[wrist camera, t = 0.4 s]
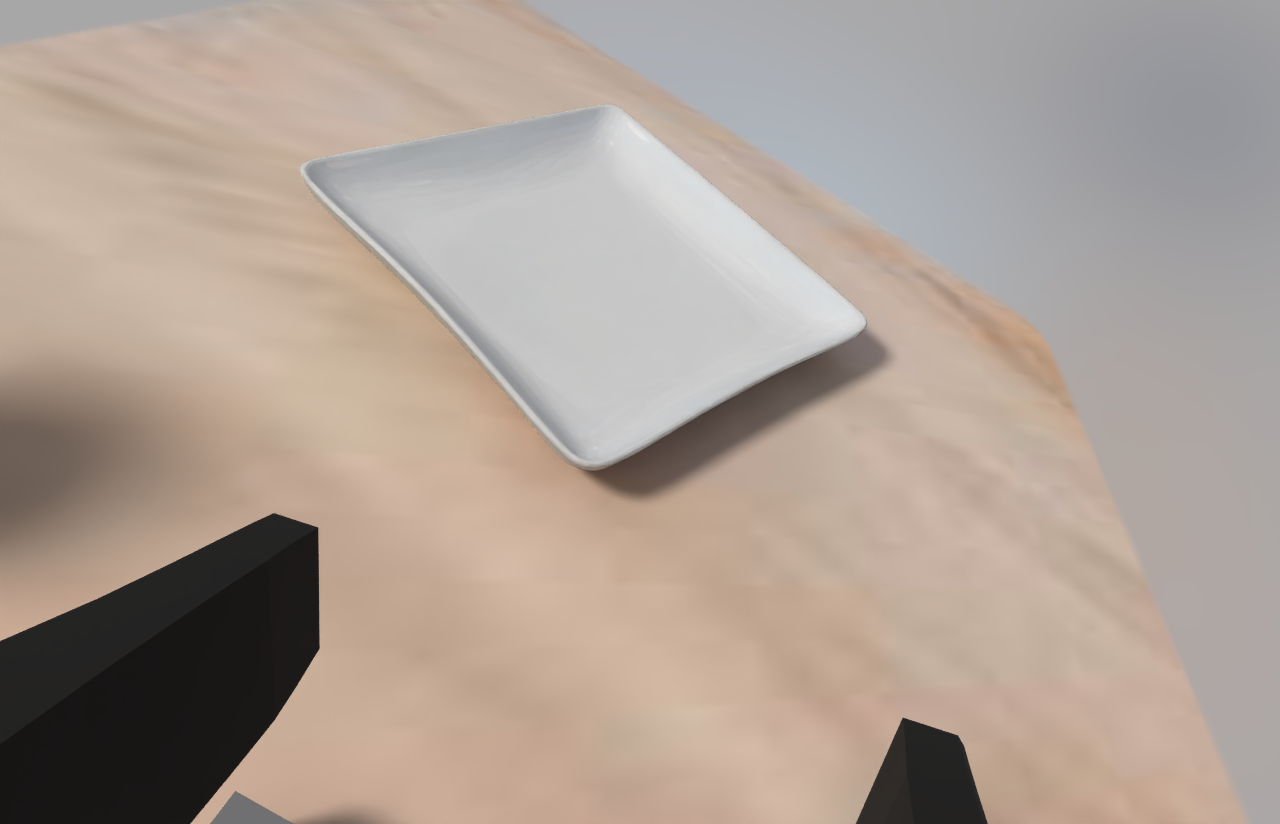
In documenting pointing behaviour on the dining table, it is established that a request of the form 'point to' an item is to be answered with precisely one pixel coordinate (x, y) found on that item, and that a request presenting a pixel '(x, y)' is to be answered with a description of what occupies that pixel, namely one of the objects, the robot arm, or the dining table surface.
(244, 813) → the mount
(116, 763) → the robot arm
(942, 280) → the dining table surface
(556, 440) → the salad plate
